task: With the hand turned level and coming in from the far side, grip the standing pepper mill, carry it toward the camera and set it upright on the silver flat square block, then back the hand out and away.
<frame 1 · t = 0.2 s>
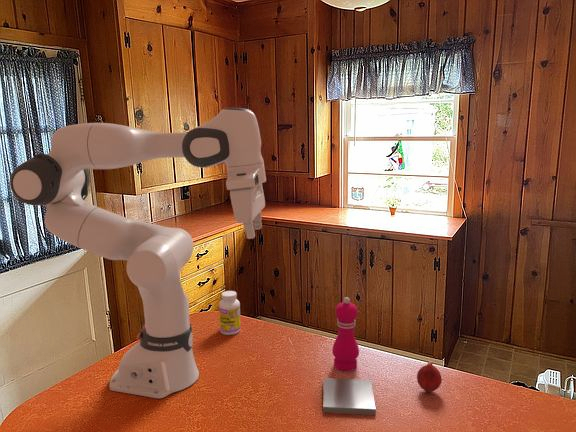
hand: (254, 233, 111), 40 cm above the countertop, tool pointing down, fingers open, 8 cm apart
pepper mill: (345, 366, 126), on the countertop
silver flat square block: (348, 398, 112), on the countertop
supplement bottle: (230, 331, 148), on the countertop
onion: (428, 392, 114), on the countertop
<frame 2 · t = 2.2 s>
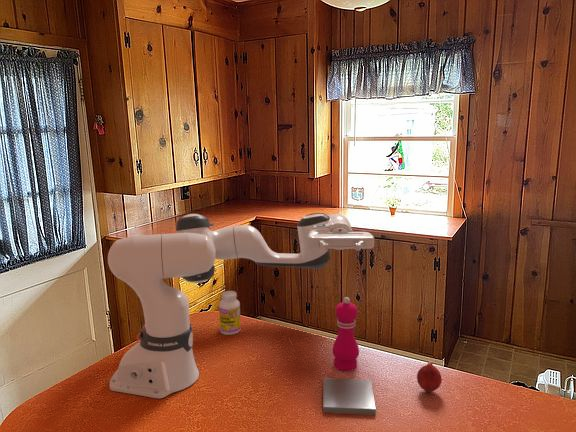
hand: (342, 247, 134), 30 cm above the countertop, tool horizontal, fingers open, 8 cm apart
nothing on the countertop moved.
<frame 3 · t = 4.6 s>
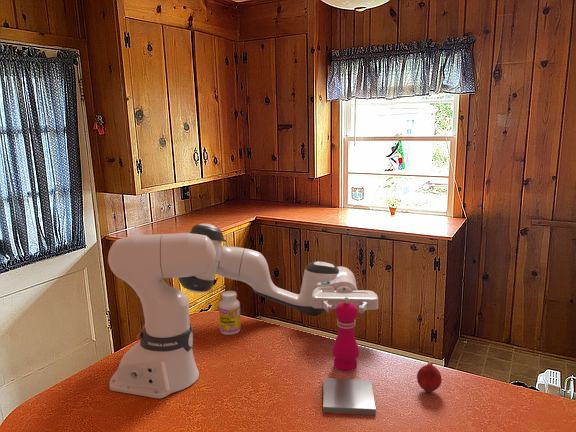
hand: (345, 310, 134), 12 cm above the countertop, tool horizontal, fingers open, 8 cm apart
nothing on the countertop moved.
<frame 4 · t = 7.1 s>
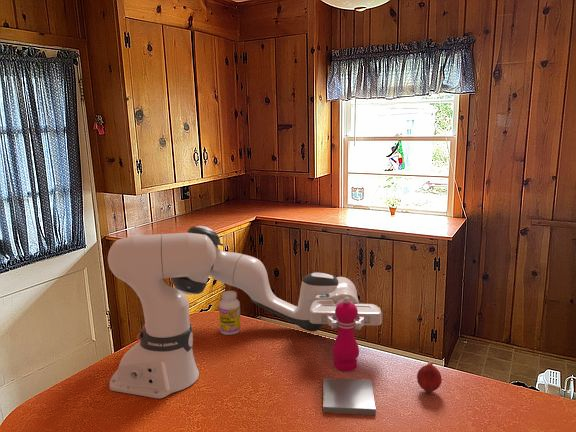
hand: (346, 326, 123), 12 cm above the countertop, tool horizontal, fingers closed on pepper mill, 5 cm apart
pepper mill: (345, 366, 126), on the countertop, touching gripper
everything else where it was.
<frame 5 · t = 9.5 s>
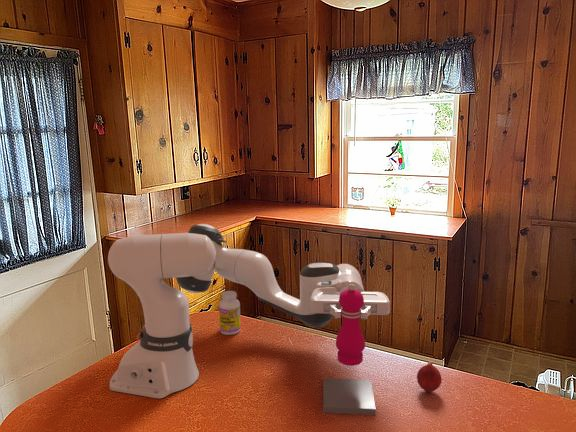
hand: (351, 316, 111), 20 cm above the countertop, tool horizontal, fingers closed on pepper mill, 5 cm apart
pepper mill: (350, 360, 115), point 7 cm above the countertop, touching gripper
everything else where it was.
when the fingers open (14 cm above the countertop, at t = 11.8 s): pepper mill moves 1 cm, resting on silver flat square block.
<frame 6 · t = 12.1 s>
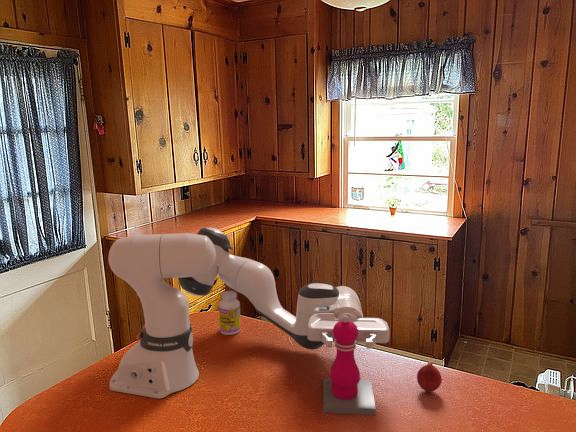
hand: (349, 345, 108), 14 cm above the countertop, tool horizontal, fingers open, 8 cm apart
pepper mill: (344, 393, 111), point 1 cm above the countertop, touching silver flat square block
everything else where it was.
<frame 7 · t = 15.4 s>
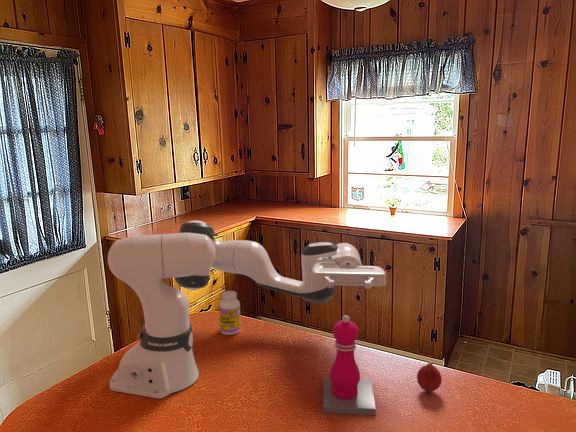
hand: (349, 285, 119), 24 cm above the countertop, tool horizontal, fingers open, 8 cm apart
nothing on the countertop moved.
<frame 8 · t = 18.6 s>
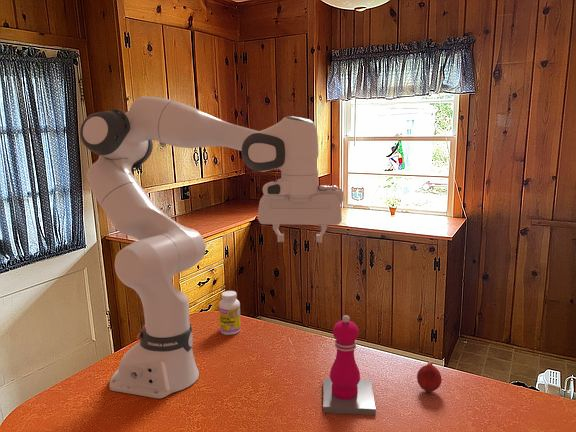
hand: (299, 241, 113), 37 cm above the countertop, tool pointing down, fingers open, 8 cm apart
nothing on the countertop moved.
at the end: pepper mill inside the target area on the silver flat square block (0.9 cm from its centre), point 1.3 cm above the silver flat square block's base; pepper mill tilted 0°; the gripper is holding nothing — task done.
